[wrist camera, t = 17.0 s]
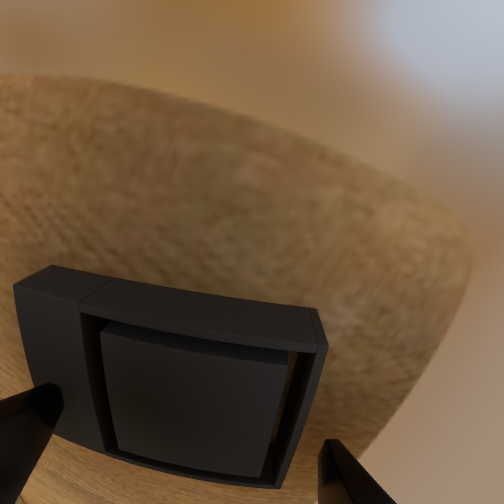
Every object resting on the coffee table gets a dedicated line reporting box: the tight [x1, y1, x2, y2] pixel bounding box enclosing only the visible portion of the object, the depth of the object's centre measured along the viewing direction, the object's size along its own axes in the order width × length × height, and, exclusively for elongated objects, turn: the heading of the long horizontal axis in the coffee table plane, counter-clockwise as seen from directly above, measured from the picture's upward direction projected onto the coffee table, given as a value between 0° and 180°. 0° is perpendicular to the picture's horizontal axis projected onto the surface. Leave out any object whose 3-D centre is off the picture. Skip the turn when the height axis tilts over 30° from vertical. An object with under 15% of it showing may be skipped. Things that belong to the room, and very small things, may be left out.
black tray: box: [13, 265, 329, 489], centre depth 10 cm, size 10×7×2 cm
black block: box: [100, 320, 289, 477], centre depth 10 cm, size 6×6×2 cm
